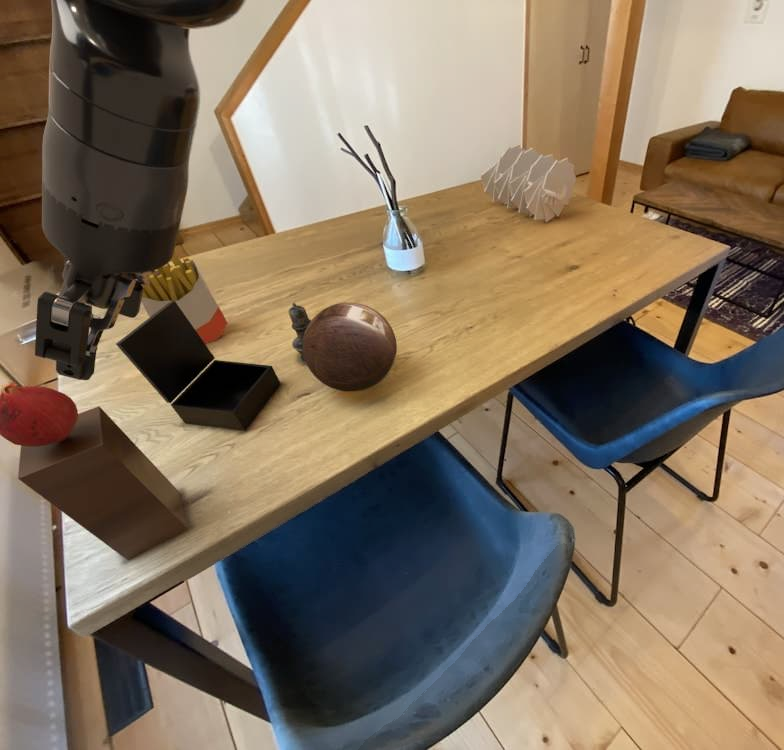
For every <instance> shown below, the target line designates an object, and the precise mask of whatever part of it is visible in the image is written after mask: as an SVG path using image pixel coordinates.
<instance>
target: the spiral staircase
mask: <svg viewBox="0 0 784 750" xmlns="http://www.w3.org/2000/svg"><path fill="white" fill-rule="evenodd" d="M542 153H543V152H540V151H535V150H534V147H531V148H529V149H525V148H522V147H521V143H518V144H515V145H514V146H511V145H508V146H507V147H506V149H505V150H504V152H503V153H502V154H501V156H499V157H498V161H497V162H495V163H494V164H493V165H492V166H491V167H489V168H488V169H486V170H485V171H484V172H482V173H481V174H480V180H481V182H482V185H483V189H484V190H483V193H485V194H486V195H487V196H488V197H490V198H491V199H492V201H491V202H492V203H503V205H504V206H505V205H506V209H513V208H516V209H518V212H517V213H518V214H528V216H529V218H530V217H532V216H533V220H534V221H536V220H537V221H538V220H544V222H545V223H548V222H549V221H550V220H552V218H554V217H555V216H556V217H559V216H560V215H561V213H562V210H563V209H564V207H565V206H566V205H567V206H568V205H569V203H570V199H571V198H572V197H574V184H575V183H576V181H577V179H578V178H577V177H576V174H575V172H574V171H575V167H576V165H575V164H573V163H571V162H570V161H569V157H565V158H563V159H561V160H558V159H555V158H554V154H552V153H551V154H548V155H545V156H544V154H542Z"/></svg>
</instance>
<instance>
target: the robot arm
mask: <svg viewBox="0 0 784 750" xmlns="http://www.w3.org/2000/svg"><path fill="white" fill-rule="evenodd" d="M246 1H247V0H50V4H51V16H52V17H51V21H52V22H51V24H52V25H51V26H52V27H51V38H50V46H49V60H48V61H49V62H48V67H49V68H48V110H47V111H48V112H47V118H46V123H45V126H44V130H43V137H42V144H41V145H42V153H41V154H42V160H41V161H42V163H41V164H42V165H41V167H42V169H41V170H42V171H41V172H42V173H41V174H42V175H41V228H42V231H43V234H44V236H45V238H46V239H47V240H48V242H49V243H50V244H51V245H52V246H53V247H54V248H55V249H56V250H57V251H59V252H60V254H61V255H63V256H64V257H65V259H66V260H67V261H66V264H65V266H64V268H63V271H62V274H61V277H62V279H63V283H62V286H61V288H60V291H59V293H58V294H55V293H52V292H49V291H44V292H43V293H42V294H41V295H40V296H38V298H37V302H36V303H37V305H36V322H35V323H36V324H35V345H34V356H36V357H37V358H43V359H48V360H51V361H55V371H56V372H57V374H58V375H59V376H62V377H67V378H70V379H75V380H78V381H89V380H90V379H91V378H92V376H94V374H95V369H96V368H95V367H96V358H97V351H98V345H99V343H100V340H101V338H102V336H103V333H104V331H106V330H110V329H112V328H114V326H115V324H116V321H117V320H118V317H119V315H121V316H124V317H127V318H130V319H135V318H136V317H137V316H138V314H139V313H140V311H141V299H142V293H143V288H145V287H146V285H148V284H149V278H150V276H151V272H152V273H154V272H155V271H157V269H159V268H161V267H163V266H164V265H166V264H167V263H169V262H170V261H171V258H172V257H173V254H174V251H175V249H176V244H177V240H178V235H179V230H180V226H181V221H182V217H183V211H184V208H185V203H186V198H187V195H188V194H187V193H188V187H189V179H190V177H189V176H190V175H189V174H190V173H189V171H190V158H191V153H192V149H193V144H194V139H195V134H196V130H197V125H198V119H199V114H200V108H201V85H200V81H199V77H198V74H197V71H196V68H195V66H194V62H193V59H192V55H191V49H190V33H191V32H190V31H191V30H200V29H201V30H202V29H209V28H213V27H218V26H220V25H223V24H225V23H227V22H229V21H230V20H231V19H233V18H234V17H235V16H237V14H239V12H240V11H241V10H242V9H243V7H244V5H245V3H246ZM93 307H95V308H99V309H102V310H105V314H104V316H98V315H95V314H94V313H93Z"/></svg>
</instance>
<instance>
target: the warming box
mask: <svg viewBox="0 0 784 750" xmlns="http://www.w3.org/2000/svg"><path fill="white" fill-rule="evenodd" d="M281 385H282V382H281V381H280V379H279V377H278V375H277V373H276V371H275V369H274V367H273V366H272V365H267V364H258V363H247V362H238V361H229V360H220V359H219V360H218V359H214V360H213V361H212V362H211V363H210V364H209V365H208V366H207V367H206V368H205V369H204V370H203V371H202V372H201V373H200V374H199V375H198V376H197V377H196V378H195V379H194V380H193V381H192V382H191V383H190V384H189V385H188V386H187V387H186V388H185V389H184V390H183V391H182V392H181V393H180V394H179V395H178V396H177V397H176V398H175V399H174V400H173V401H172V402H171V403H170V406H171V408H172V409H173V410H174V411H175V413H176V414H177V415H178V416H179V418H180V419H181V420H182V422H183V423H184V424H186V425H193V426H201V427H202V426H203V427H210V428H218V429H226V430H233V431H240V432H241V431H242V432H247V430H248V429H249V427H250V426H251V425H252V423H253V422H254V421H255V419H256V418H257V417H258V416H259V414H260V413H261V412H262V410H263V409H264V408H265V406H266V405H267V404H268V402H269V401H270V400H271V398H273V396H274V395H275V393H276V392H277V391H278V389H280V387H281Z"/></svg>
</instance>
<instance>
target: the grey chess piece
mask: <svg viewBox="0 0 784 750" xmlns="http://www.w3.org/2000/svg"><path fill="white" fill-rule="evenodd" d="M288 316H289V318H290V320H291V323H292V324H291V328H292V330H294V331H295V334H296V337H295V338H294V339H293V341H292V343H291V345H292V348H293V349H294V350H295V351H297V353H298V354H299V360H300V362H301V363H302V364H304V365H307V364H306V361H305V358H304V354H303V338H304V334H305V331H306V329H307V327H308V325H309V323H310V322H311V320H312V319H311V318H309V315H308V313H307V311H306V308H305V307H304V306H302V305H299V304H298V305H297V303H295V302H292V306H291V307H290V308H289V310H288Z"/></svg>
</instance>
